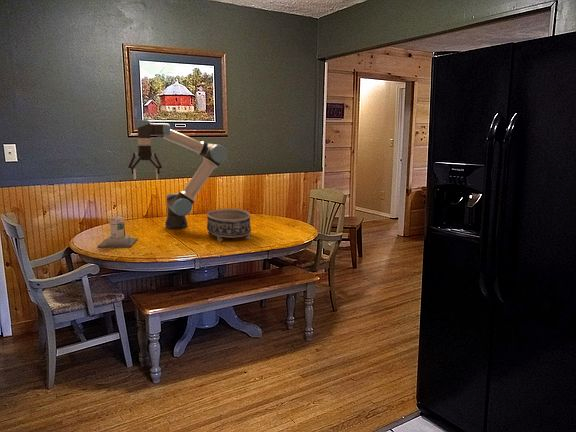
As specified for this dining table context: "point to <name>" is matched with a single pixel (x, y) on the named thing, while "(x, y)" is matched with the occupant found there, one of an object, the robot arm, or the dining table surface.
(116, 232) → the syrup box
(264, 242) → the dining table surface
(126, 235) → the mount plate
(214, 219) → the decorative bowl
